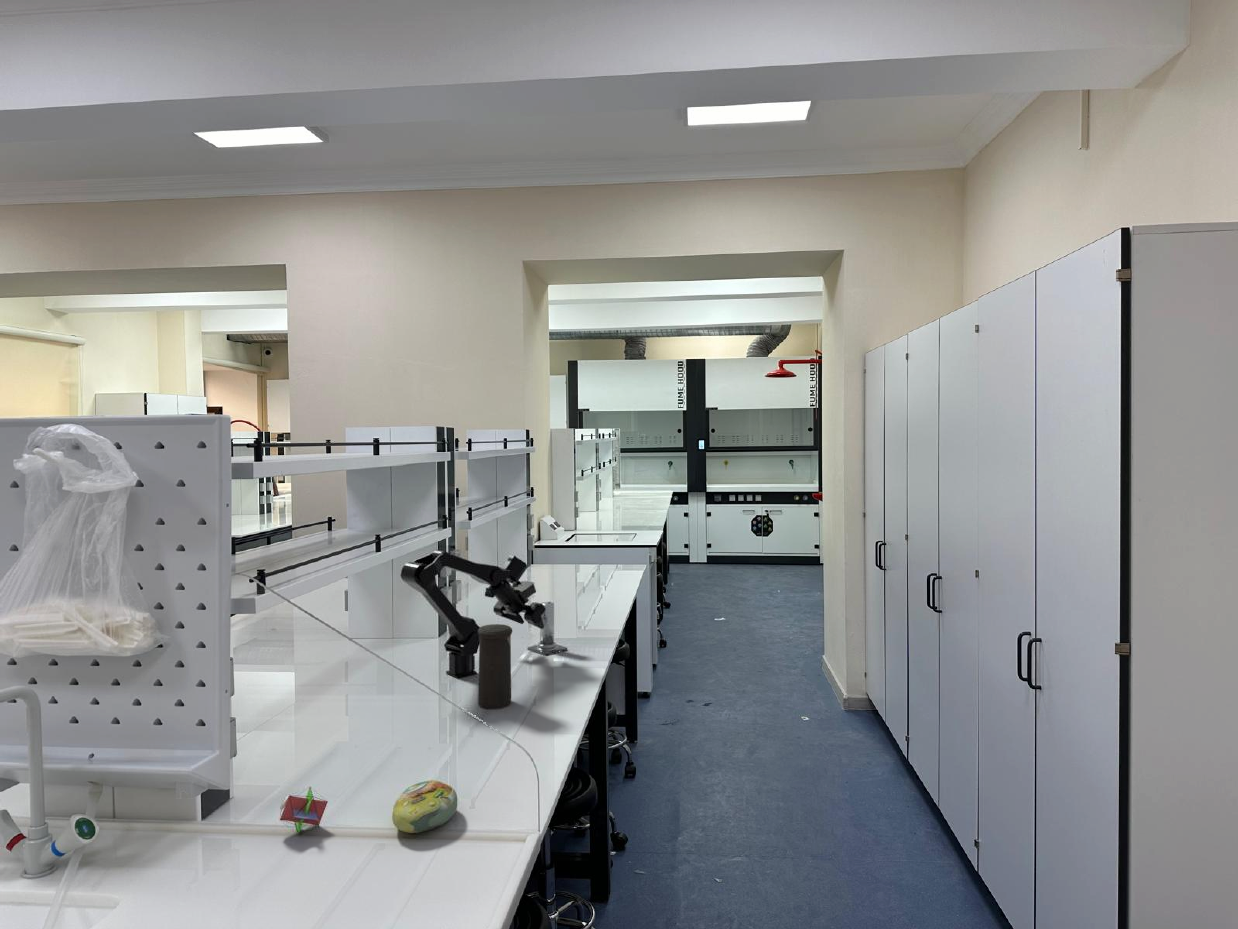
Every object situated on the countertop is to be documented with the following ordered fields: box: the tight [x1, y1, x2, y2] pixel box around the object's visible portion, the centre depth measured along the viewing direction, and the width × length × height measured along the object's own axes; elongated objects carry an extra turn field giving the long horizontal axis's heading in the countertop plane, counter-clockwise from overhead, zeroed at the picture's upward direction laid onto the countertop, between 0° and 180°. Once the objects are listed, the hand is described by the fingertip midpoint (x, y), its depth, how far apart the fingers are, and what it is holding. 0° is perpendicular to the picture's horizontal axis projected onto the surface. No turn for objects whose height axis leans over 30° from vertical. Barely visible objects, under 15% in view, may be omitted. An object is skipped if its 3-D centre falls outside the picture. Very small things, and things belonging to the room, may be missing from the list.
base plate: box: [526, 644, 568, 656], centre depth 247 cm, size 9×9×1 cm
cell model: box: [391, 779, 458, 834], centre depth 138 cm, size 11×8×15 cm
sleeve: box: [537, 601, 556, 650], centre depth 247 cm, size 6×6×14 cm
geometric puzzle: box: [279, 787, 329, 837], centre depth 134 cm, size 7×7×8 cm
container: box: [477, 623, 513, 710], centre depth 197 cm, size 9×9×20 cm
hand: (533, 625), depth 242 cm, fingers open, 9 cm apart
